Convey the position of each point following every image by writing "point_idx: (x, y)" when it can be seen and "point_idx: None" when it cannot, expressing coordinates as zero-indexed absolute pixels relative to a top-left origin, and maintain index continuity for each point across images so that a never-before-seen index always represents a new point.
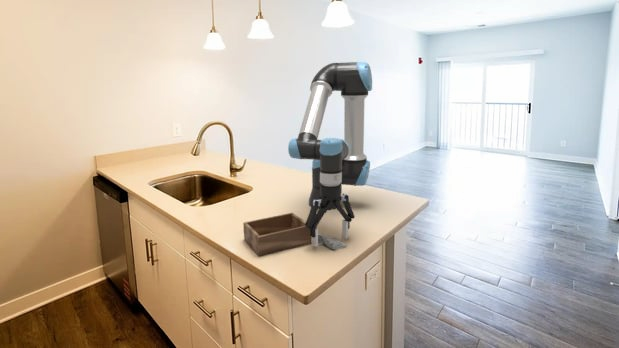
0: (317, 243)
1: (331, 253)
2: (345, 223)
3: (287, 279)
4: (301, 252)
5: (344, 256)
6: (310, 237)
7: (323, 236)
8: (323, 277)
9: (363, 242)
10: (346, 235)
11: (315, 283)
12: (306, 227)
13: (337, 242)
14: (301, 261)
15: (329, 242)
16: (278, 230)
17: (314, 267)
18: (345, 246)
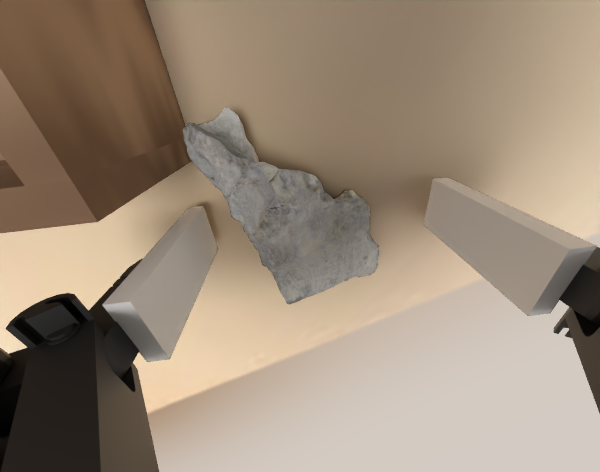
0: (209, 260)
1: (272, 295)
2: (516, 288)
3: None
4: (116, 243)
5: (310, 326)
6: (169, 171)
7: (264, 245)
8: (187, 391)
9: None
10: (439, 235)
11: (157, 403)
12: (33, 224)
13: (331, 283)
14: None
15: (280, 290)
16: None
17: None
18: (365, 274)
